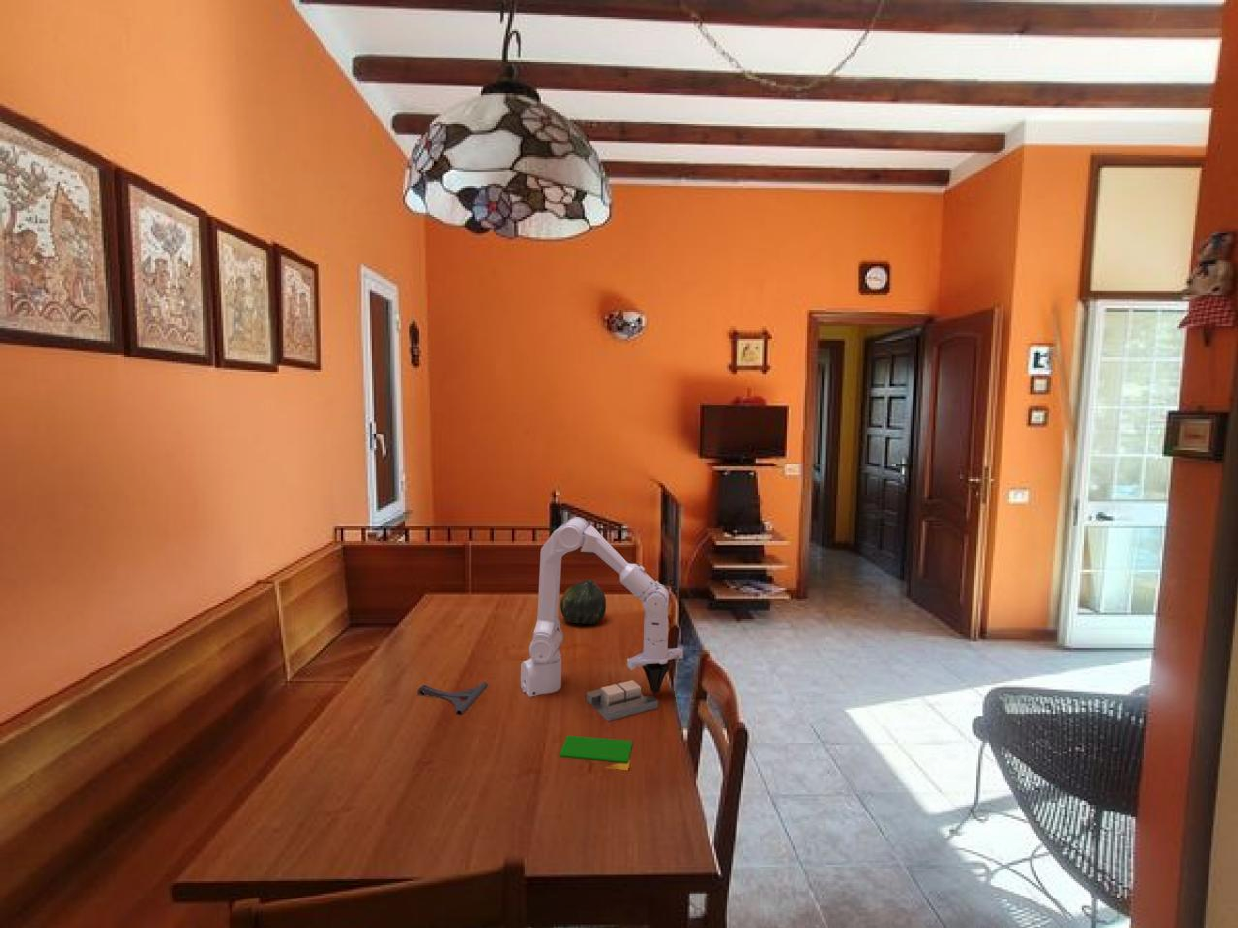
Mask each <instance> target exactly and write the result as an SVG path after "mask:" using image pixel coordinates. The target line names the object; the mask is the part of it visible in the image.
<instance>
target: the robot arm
mask: <svg viewBox="0 0 1238 928" xmlns="http://www.w3.org/2000/svg"><path fill="white" fill-rule="evenodd" d="M580 547H581V549H580V552H582V553H584V552H585V553H594V554H595V555H596V556H598V557H599V558H600V559H601V560H602V561H604V562H605V564H606V565H608V566H609V567H610V568H612V569H613V571H615V572H616V573H617V574H618V575H619V583H621V584H622V586H624V587H625V588H626V589H627V590H628V591H629V592H630V593H631V594H632V595H633V596H634V597H635V598H637V599H638V600H639V601H641V602H642V607H643V609H644V611H645V612H644V619H643V652H641V653H638V654H637V655H634V656H633V657H631V658H626V667H627V668H628V669H629V670H630V671H632V670H635V669H636V668H639V667H642V668H643V671H644V672H645V675H646V678H647V682H648V684H649V691H650V692H651V693H653V694H654V695H655V694H656V695H657V694H659V693H660V690H661V687H662V684H663V681H664V678H665V676H666V675H667V672H668V671H669V670H670V664H669V663H668V661H669V660H673V659H679V660H680V659H683V655H684V651H683V650H682V649H681V648H679V647H675V648H669V647H668V646H669V640H668V638H669V618H668V616H669V611H668V610H669V605H670V604H669V601H670V593H669V591H668V589H667V588H666V586H665V585H664V584H661V583H660V582H659V581H658V580H656V581H655V580H654V579H653V578H652V577H651V576H650V575H649V574H647V572H646V571H645V570H646V568H645V567H644V566H643V565H640V566H639V565H638V564H636V563H629V562H628V561H626V560H625V559H624V557H622V555H621V554H620V553H619V552H618V551H617V550H616V549H615V548H614V547H613V546H612V545H611V544H610V543H609V542H608V541H607V540H606V538H605V537H603V535H602V534H601V533H600V532H599V531H598V530H597V529H596V528H595V527H594V526H592V525H591V524H589V523H588V521H587V520H586V519H585V518H582V517H579V516H578V517H571V518H570V519H569V520H567V521H565V522H564V523H562V524H561V525H560V526H559V527H558V528H557V529H555V530H554V531H553V532H552V534H551V535H550V536H549V538H548V539H547V541H546V542H545V543H544V544H543V546H542V547H541V548H540V556H539V557H540V558H539V560H540V561H539V577H538V579H539V580H538V581H539V582H538V598H537V599H538V600H537V620H536V623H535V627H534V629H533V636H532V640H531V642H530V644H529V646H528V653H529V656H530V658H529V659H527V660H524V661H522V662H521V664H520V687H521V689H522V691H523V693H526V695H527V696H528V697H529V698H530V697H534V696H538V695H549V694H553V693H556V692H558V691H559V690H560V689H561V687H562V678H561V677H562V653H561V652H560V648H559V647H560V646H561V645H562V643H563V638H564V637H563V633H562V632H563V631H562V630H561V627H560V626H561V621H560V619H559V609H560V587H561V568H562V567H561V566H562V557H563V556H564V555H565V554H567V553H570V552H573V551H575V550H577V549H579V548H580Z"/></svg>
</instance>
